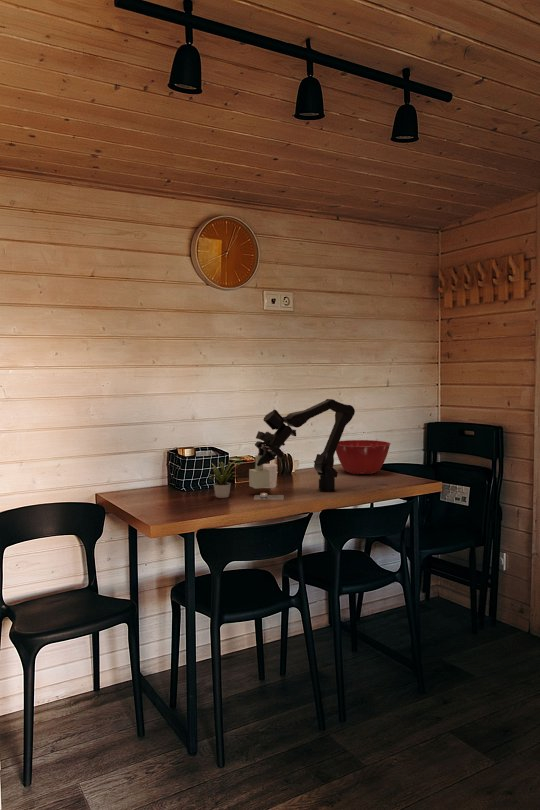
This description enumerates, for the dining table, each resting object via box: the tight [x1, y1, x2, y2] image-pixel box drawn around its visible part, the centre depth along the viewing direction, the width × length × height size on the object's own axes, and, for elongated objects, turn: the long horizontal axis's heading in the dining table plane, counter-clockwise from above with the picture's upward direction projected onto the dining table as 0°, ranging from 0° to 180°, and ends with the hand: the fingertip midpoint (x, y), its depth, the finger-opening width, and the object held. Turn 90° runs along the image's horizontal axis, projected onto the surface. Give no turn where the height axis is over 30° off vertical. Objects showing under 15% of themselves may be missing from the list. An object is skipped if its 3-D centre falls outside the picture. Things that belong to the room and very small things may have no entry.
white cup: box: [263, 463, 278, 489], centre depth 286 cm, size 8×8×10 cm
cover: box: [248, 454, 270, 489], centre depth 264 cm, size 6×6×13 cm
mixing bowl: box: [335, 439, 391, 475], centre depth 321 cm, size 28×28×15 cm
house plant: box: [208, 461, 241, 499], centre depth 262 cm, size 14×14×16 cm
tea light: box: [259, 492, 269, 498], centre depth 259 cm, size 3×3×2 cm
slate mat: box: [253, 494, 285, 501], centre depth 260 cm, size 12×9×1 cm
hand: (256, 465), depth 264 cm, fingers closed on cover, 2 cm apart
